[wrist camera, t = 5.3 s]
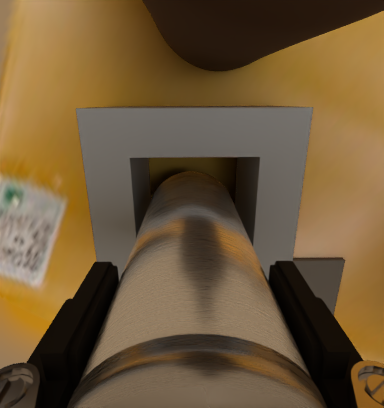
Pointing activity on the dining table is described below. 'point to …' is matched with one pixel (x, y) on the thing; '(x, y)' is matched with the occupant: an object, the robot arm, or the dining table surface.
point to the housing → (195, 147)
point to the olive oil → (248, 26)
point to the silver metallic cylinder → (194, 316)
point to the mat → (322, 277)
